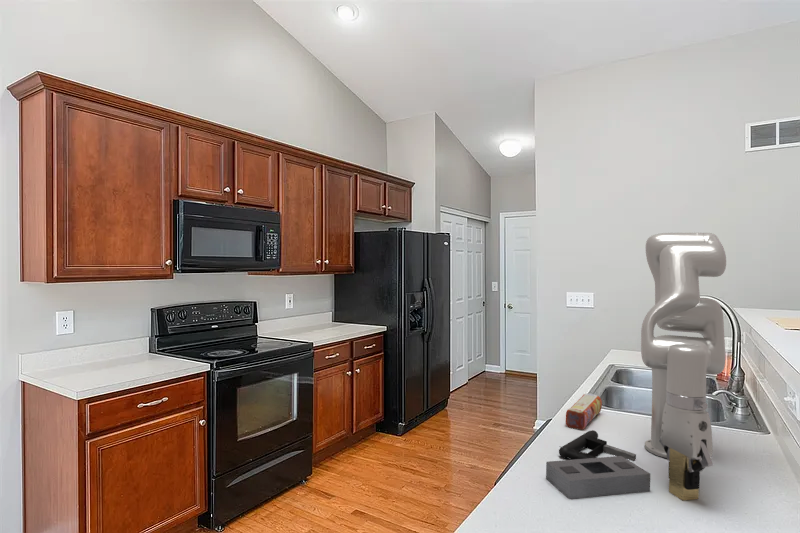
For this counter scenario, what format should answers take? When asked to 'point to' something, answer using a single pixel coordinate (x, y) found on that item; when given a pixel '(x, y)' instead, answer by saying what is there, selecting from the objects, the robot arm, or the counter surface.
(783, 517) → the counter surface
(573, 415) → the snack package
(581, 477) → the grey peg hole block
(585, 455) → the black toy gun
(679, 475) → the brass peg
